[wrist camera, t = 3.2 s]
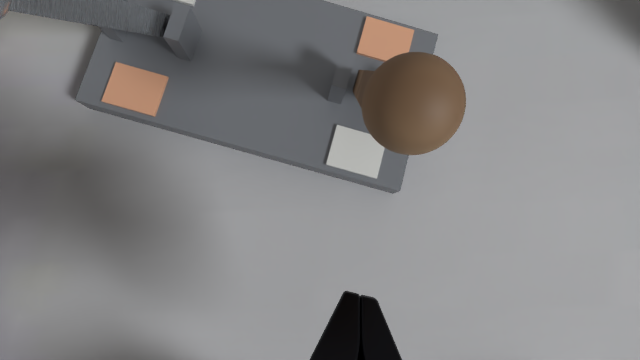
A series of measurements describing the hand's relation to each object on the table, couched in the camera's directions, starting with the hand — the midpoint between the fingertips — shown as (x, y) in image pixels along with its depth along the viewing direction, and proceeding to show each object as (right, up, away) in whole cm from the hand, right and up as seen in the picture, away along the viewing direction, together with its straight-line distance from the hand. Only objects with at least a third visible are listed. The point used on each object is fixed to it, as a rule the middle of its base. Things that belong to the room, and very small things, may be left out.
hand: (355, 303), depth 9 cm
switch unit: (-4, +10, +14) cm, 17 cm away
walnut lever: (+2, +8, +11) cm, 14 cm away
